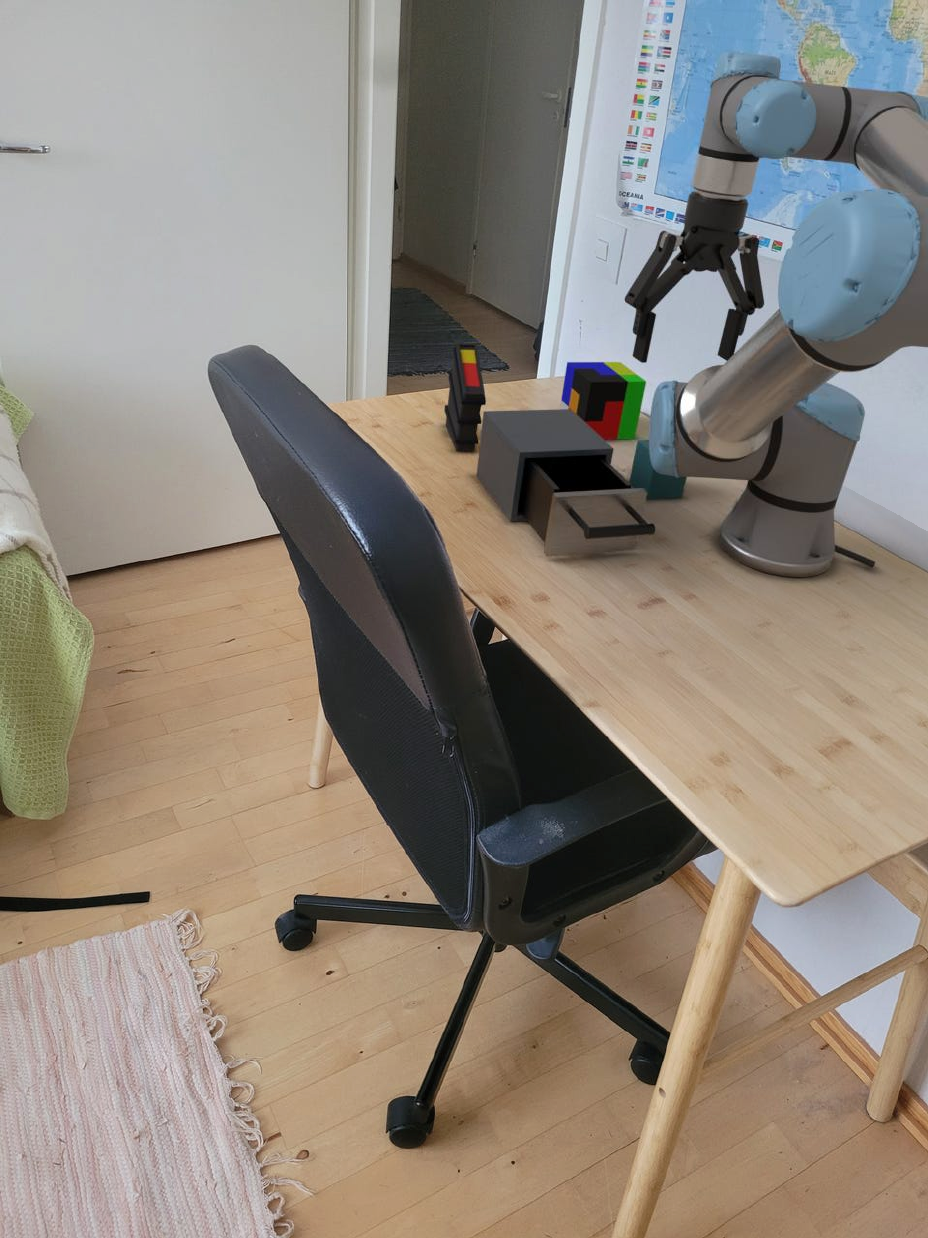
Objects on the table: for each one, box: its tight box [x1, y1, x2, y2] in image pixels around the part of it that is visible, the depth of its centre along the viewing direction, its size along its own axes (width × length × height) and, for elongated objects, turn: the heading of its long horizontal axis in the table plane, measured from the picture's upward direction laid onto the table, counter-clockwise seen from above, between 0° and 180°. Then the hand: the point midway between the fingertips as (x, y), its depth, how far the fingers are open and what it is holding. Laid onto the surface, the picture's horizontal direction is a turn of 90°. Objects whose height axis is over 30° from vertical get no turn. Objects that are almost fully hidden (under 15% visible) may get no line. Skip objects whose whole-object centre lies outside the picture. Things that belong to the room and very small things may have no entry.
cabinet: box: [476, 409, 614, 523], centre depth 136 cm, size 15×14×10 cm
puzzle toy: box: [559, 361, 647, 441], centre depth 162 cm, size 10×10×10 cm
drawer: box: [518, 455, 657, 557], centre depth 124 cm, size 20×13×8 cm, turn 18°
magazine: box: [443, 342, 487, 453], centre depth 151 cm, size 4×13×15 cm, turn 10°
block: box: [628, 439, 688, 501], centre depth 143 cm, size 6×6×7 cm
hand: (682, 358), depth 132 cm, fingers open, 13 cm apart
